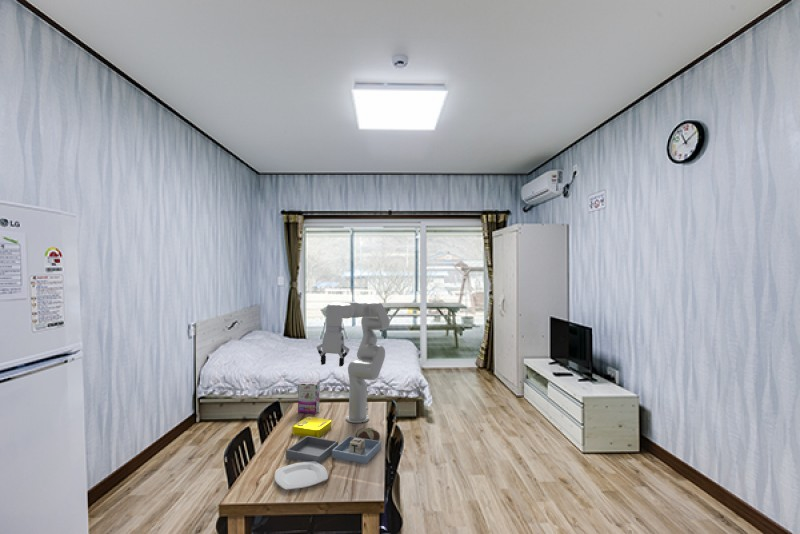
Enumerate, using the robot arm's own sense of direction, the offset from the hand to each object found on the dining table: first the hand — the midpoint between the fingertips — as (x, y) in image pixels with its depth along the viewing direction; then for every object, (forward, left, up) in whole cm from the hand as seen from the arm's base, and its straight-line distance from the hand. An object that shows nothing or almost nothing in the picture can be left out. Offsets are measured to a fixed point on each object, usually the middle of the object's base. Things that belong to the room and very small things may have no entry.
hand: (332, 365), depth 186 cm
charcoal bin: (+18, +1, -35) cm, 39 cm away
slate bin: (+11, +19, -35) cm, 41 cm away
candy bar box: (-27, -30, -35) cm, 53 cm away
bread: (-5, +17, -35) cm, 39 cm away
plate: (+37, +8, -35) cm, 52 cm away
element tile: (-4, -13, -35) cm, 38 cm away
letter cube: (+11, +19, -34) cm, 40 cm away
